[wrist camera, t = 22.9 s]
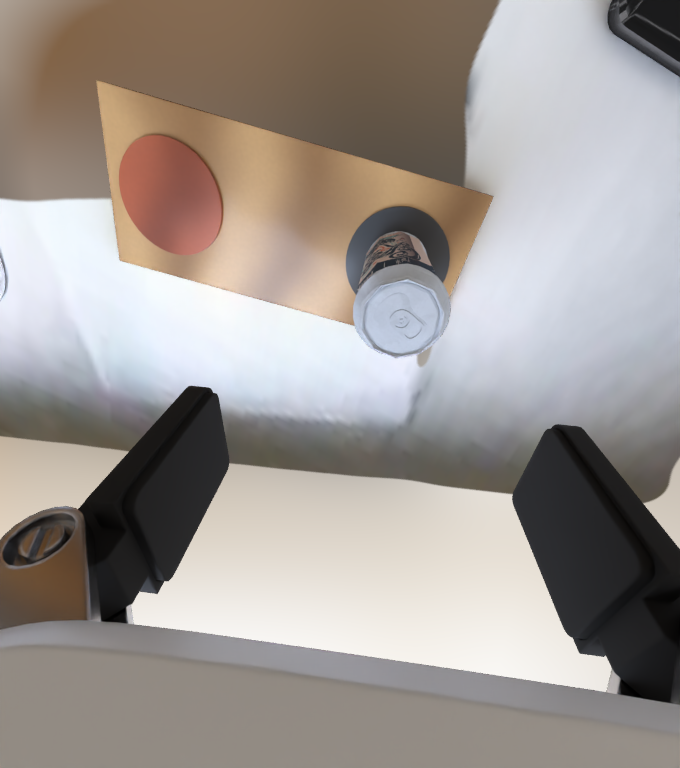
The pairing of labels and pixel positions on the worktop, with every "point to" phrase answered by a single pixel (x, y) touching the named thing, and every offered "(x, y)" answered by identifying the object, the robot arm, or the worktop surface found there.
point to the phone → (649, 28)
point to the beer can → (400, 298)
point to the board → (267, 206)
